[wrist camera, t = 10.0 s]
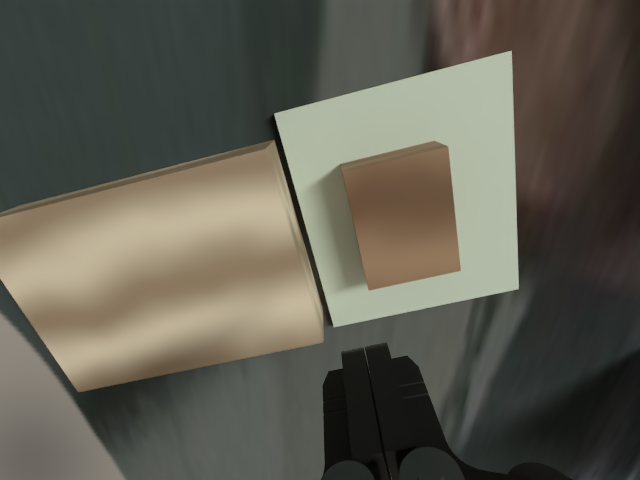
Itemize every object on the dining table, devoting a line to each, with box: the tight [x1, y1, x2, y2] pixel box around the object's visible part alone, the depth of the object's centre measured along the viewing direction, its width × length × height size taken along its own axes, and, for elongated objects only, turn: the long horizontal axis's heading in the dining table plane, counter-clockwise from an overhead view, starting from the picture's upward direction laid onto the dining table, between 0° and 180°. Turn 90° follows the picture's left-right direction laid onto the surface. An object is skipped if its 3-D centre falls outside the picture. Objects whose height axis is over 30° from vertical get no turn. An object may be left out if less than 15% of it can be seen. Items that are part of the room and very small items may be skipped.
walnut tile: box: [340, 141, 461, 290], centre depth 22 cm, size 8×6×2 cm
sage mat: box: [274, 51, 519, 327], centre depth 24 cm, size 16×14×1 cm
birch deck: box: [0, 140, 324, 392], centre depth 24 cm, size 13×18×4 cm
